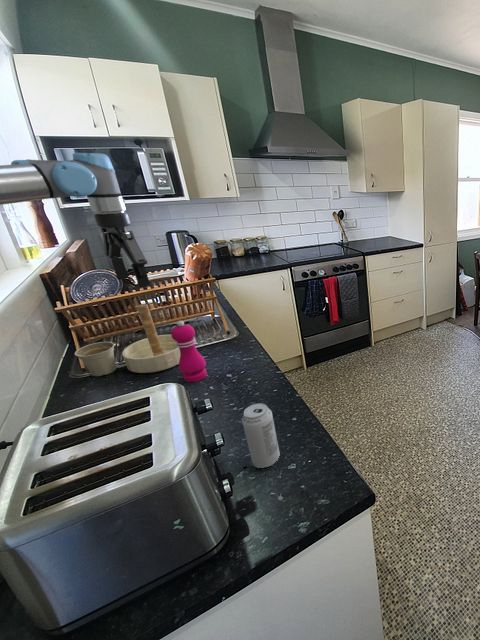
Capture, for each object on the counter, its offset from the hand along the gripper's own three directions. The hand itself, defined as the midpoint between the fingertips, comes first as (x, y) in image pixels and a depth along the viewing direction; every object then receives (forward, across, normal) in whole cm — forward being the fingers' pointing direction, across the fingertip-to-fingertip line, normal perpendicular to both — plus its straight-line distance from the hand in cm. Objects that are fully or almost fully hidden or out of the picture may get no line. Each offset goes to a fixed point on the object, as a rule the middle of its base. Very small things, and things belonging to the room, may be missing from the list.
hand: (133, 282), depth 108 cm
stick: (+28, 0, 0) cm, 28 cm away
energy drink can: (+29, -69, +10) cm, 75 cm away
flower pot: (+29, +8, +13) cm, 33 cm away
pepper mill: (+29, -20, -1) cm, 35 cm away
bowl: (+29, 0, 0) cm, 29 cm away
